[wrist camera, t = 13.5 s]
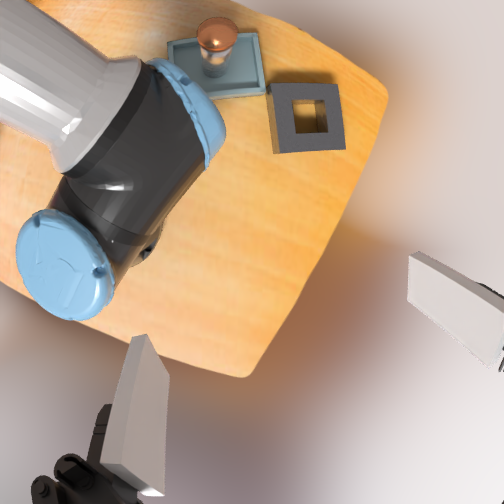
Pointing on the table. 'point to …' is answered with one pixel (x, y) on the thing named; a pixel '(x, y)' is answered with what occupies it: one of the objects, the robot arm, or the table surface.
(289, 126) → the block
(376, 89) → the table surface
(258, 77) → the tray
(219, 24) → the pin
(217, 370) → the table surface
